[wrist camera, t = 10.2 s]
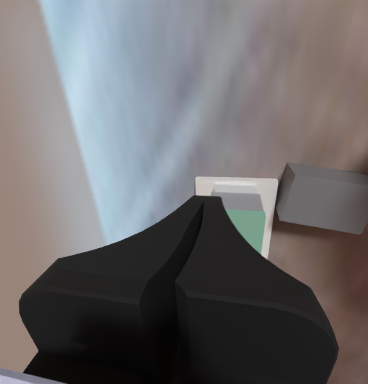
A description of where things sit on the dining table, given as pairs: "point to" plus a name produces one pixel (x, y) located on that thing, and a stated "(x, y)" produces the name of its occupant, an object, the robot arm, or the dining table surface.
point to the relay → (323, 198)
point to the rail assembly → (245, 205)
